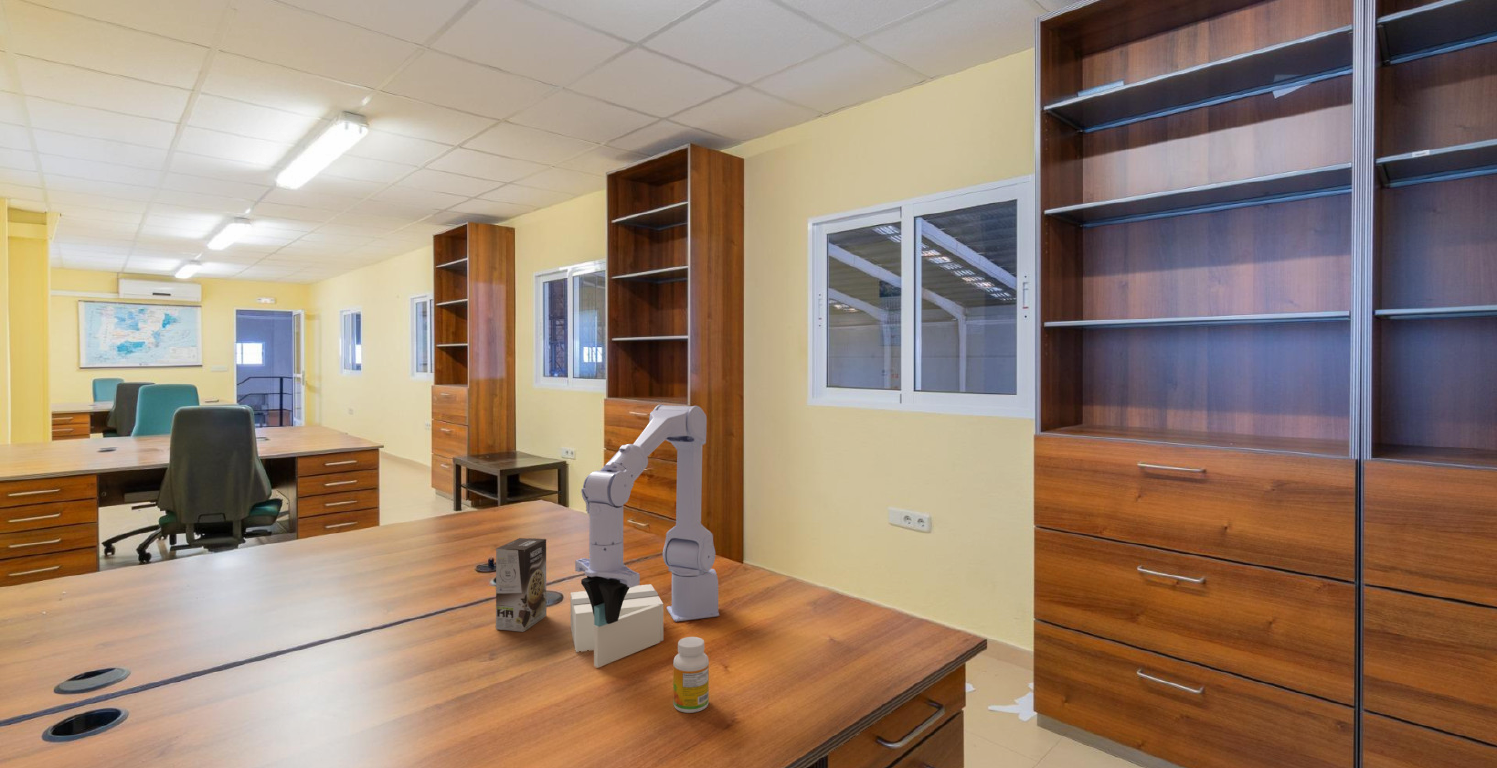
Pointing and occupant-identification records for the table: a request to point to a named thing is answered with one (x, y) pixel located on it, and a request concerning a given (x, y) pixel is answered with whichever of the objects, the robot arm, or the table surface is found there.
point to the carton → (632, 602)
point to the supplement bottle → (690, 676)
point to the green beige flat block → (624, 633)
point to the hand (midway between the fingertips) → (606, 619)
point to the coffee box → (520, 584)
